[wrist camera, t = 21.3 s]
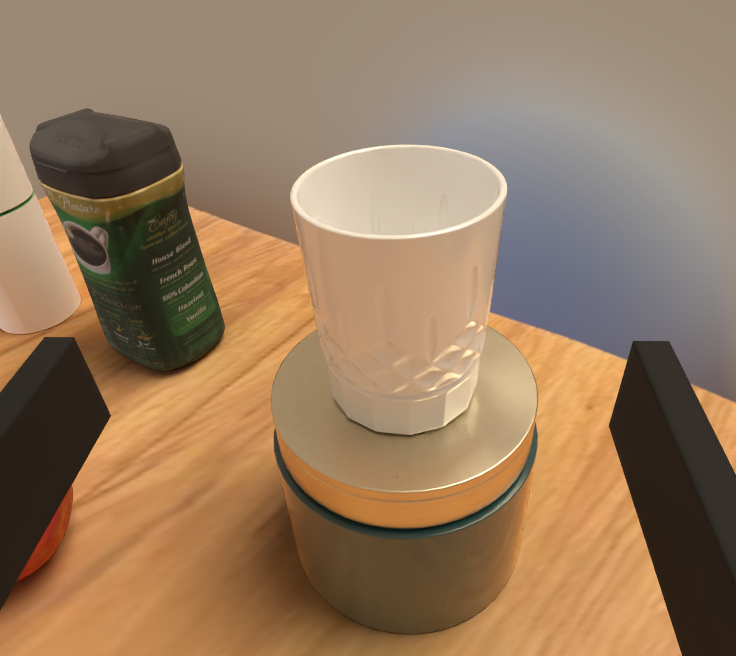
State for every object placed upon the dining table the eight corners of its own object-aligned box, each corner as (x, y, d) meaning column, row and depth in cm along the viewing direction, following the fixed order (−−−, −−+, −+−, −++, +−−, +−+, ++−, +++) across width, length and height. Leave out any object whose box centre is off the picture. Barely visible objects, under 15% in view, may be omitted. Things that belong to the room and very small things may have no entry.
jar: (257, 504, 36) (221, 378, 30) (422, 408, 42) (421, 285, 35) (383, 691, 28) (370, 572, 21) (569, 540, 33) (604, 409, 27)
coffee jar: (243, 331, 50) (190, 109, 39) (171, 387, 45) (85, 151, 34) (167, 298, 55) (100, 91, 43) (94, 346, 50) (-4, 125, 38)
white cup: (450, 318, 32) (457, 132, 25) (518, 422, 25) (548, 212, 19) (306, 349, 30) (275, 162, 24) (340, 467, 24) (312, 257, 18)
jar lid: (236, 404, 31) (226, 369, 29) (421, 313, 36) (421, 279, 35) (374, 587, 23) (371, 551, 21) (588, 435, 28) (597, 397, 26)
